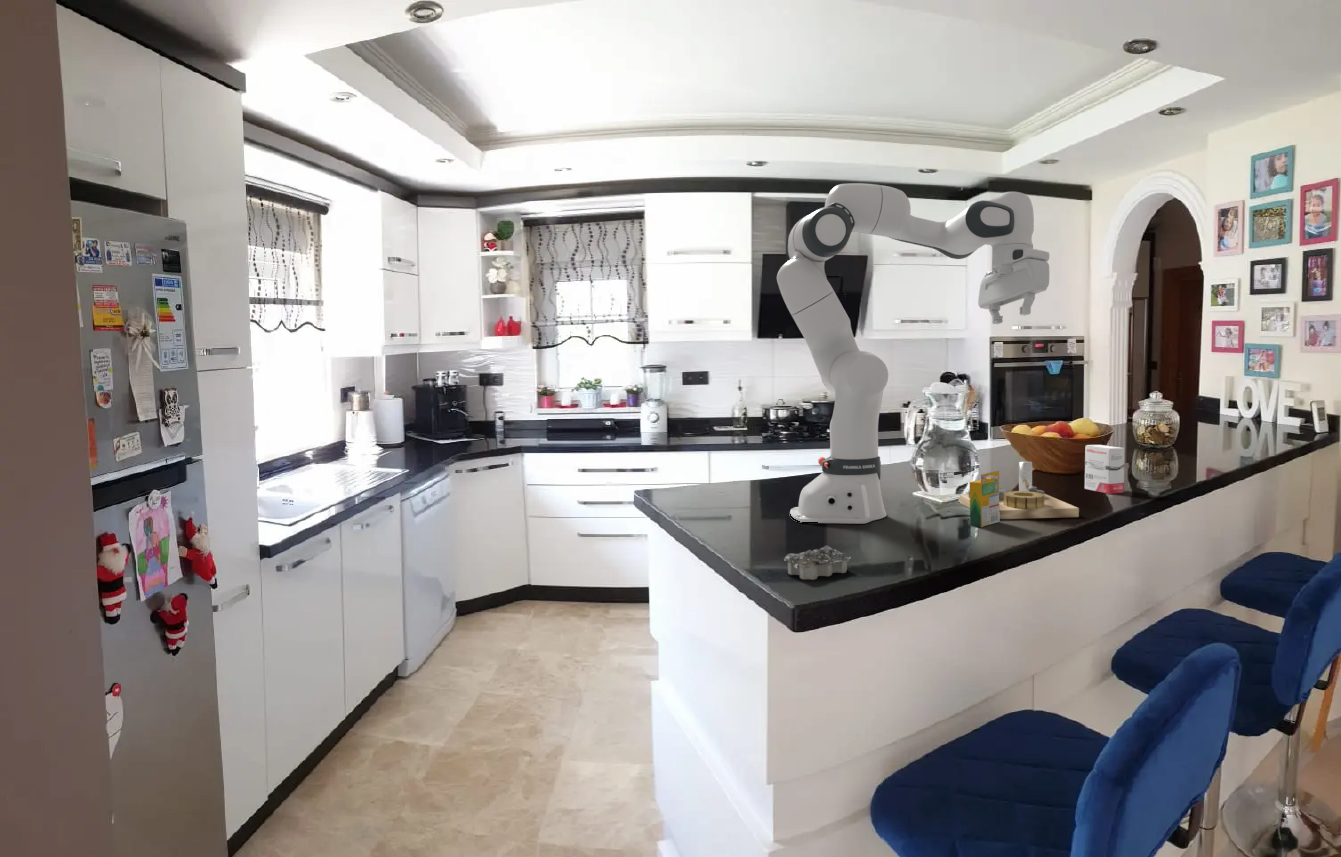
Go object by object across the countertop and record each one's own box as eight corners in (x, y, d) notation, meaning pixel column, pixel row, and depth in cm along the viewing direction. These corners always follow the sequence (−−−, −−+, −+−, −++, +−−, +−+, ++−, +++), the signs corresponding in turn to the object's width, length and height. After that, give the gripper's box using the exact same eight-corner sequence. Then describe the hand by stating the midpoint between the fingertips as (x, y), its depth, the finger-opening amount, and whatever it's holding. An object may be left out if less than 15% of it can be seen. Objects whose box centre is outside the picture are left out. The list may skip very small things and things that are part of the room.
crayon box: (987, 520, 169) (987, 469, 168) (1000, 522, 166) (1000, 470, 165) (969, 525, 164) (968, 473, 163) (981, 527, 162) (981, 474, 161)
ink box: (1125, 492, 192) (1125, 447, 191) (1108, 494, 191) (1109, 448, 190) (1099, 487, 200) (1099, 443, 199) (1083, 489, 199) (1083, 444, 198)
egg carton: (805, 583, 129) (804, 560, 129) (781, 572, 136) (780, 550, 136) (854, 572, 134) (854, 550, 134) (828, 563, 141) (828, 541, 140)
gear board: (987, 519, 169) (987, 499, 169) (958, 502, 189) (958, 484, 189) (1078, 516, 168) (1078, 497, 167) (1040, 499, 188) (1040, 481, 187)
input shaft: (1021, 498, 190) (1021, 463, 190) (1017, 496, 193) (1017, 461, 193) (1033, 497, 190) (1034, 462, 189) (1028, 495, 193) (1029, 461, 192)
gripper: (972, 272, 186) (970, 326, 185) (1031, 246, 166) (1029, 307, 165) (994, 275, 188) (992, 329, 186) (1055, 250, 168) (1054, 311, 166)
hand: (1010, 319), depth 175 cm, fingers open, 8 cm apart
